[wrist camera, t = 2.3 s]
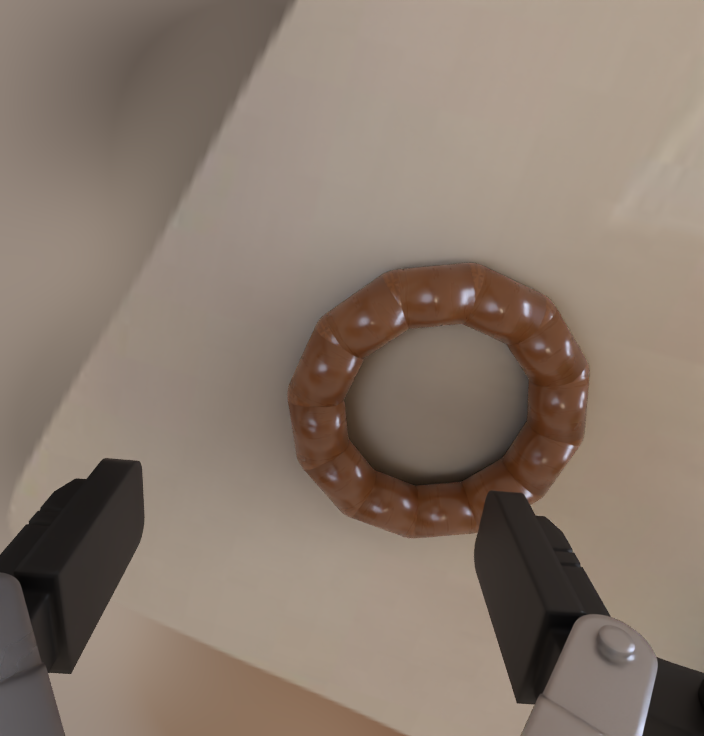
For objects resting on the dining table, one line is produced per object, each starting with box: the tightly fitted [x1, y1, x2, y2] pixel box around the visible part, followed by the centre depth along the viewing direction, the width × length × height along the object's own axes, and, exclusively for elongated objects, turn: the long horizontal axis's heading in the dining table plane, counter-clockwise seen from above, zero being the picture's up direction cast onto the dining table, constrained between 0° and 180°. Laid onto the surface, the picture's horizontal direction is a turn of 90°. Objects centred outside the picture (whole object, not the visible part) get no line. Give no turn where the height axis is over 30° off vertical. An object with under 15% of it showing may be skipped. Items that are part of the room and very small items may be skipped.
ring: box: [288, 263, 589, 538], centre depth 18 cm, size 10×10×2 cm
